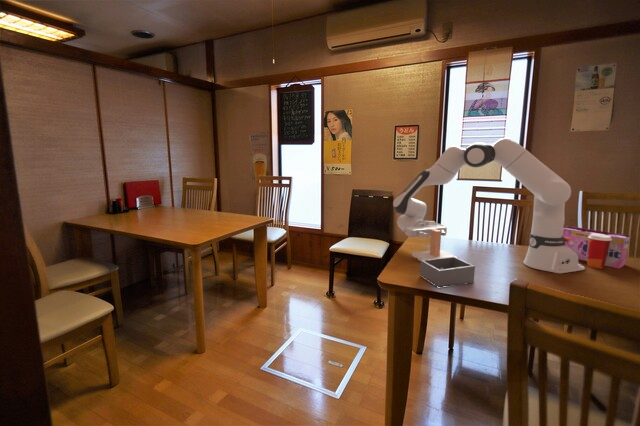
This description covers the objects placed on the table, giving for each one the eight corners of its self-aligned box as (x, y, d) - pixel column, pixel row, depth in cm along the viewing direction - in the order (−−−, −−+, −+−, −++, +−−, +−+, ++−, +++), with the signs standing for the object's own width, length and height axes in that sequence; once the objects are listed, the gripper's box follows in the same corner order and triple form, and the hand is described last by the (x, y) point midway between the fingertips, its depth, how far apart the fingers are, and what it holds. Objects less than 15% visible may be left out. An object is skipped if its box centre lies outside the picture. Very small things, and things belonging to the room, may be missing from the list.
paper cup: (598, 263, 141) (602, 233, 138) (612, 269, 133) (617, 237, 130) (579, 262, 141) (583, 232, 139) (592, 269, 134) (597, 237, 131)
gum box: (554, 254, 154) (558, 227, 151) (561, 251, 158) (565, 225, 155) (619, 269, 134) (625, 238, 131) (625, 265, 138) (631, 235, 136)
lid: (440, 255, 155) (442, 225, 153) (458, 263, 144) (460, 231, 141) (411, 258, 151) (413, 228, 148) (427, 267, 139) (428, 234, 136)
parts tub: (452, 272, 133) (453, 256, 132) (473, 283, 122) (475, 265, 120) (419, 276, 129) (420, 260, 128) (438, 288, 118) (439, 270, 116)
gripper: (400, 223, 154) (416, 230, 141) (436, 220, 160) (454, 226, 147) (400, 235, 156) (415, 243, 142) (435, 232, 161) (453, 239, 148)
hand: (435, 234), depth 145 cm, fingers open, 8 cm apart
